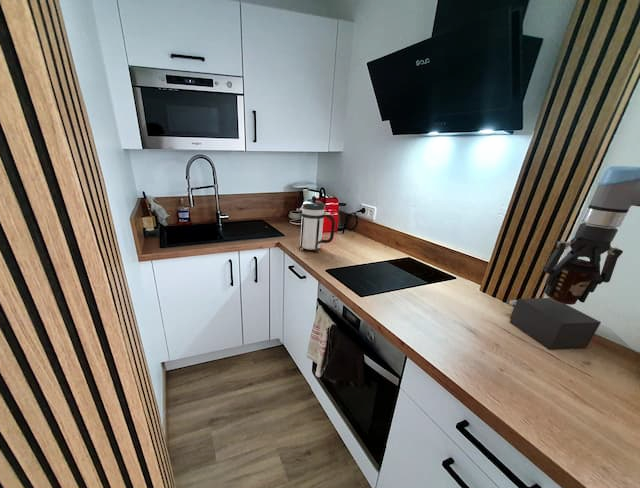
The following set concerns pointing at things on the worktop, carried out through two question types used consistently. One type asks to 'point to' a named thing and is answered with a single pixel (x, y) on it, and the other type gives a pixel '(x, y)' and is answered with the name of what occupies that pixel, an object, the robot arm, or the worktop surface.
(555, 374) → the worktop surface
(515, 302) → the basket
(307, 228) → the coffee press
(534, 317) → the dark grey low box
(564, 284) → the coffee cup
